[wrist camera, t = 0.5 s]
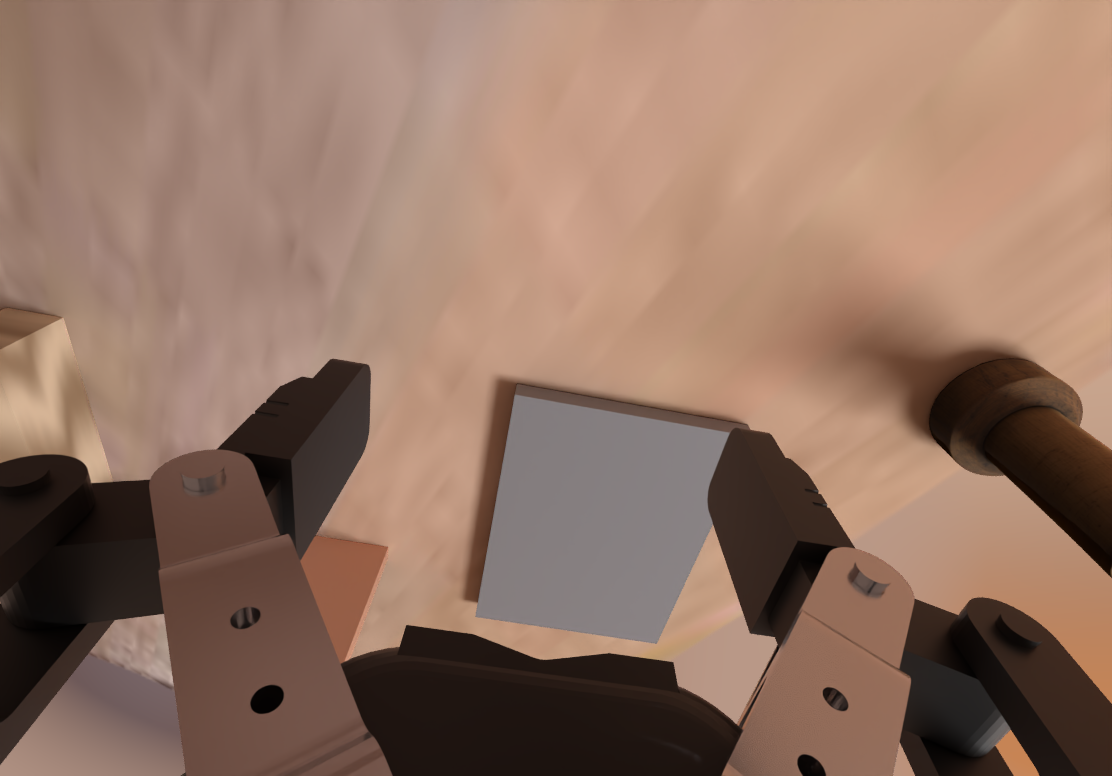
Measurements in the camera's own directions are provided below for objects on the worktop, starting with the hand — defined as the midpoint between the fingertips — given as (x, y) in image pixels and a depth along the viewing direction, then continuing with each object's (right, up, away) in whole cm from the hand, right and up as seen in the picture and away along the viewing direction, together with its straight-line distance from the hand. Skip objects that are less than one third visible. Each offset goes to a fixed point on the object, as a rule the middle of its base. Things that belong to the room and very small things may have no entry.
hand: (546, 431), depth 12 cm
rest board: (+3, -8, +25) cm, 27 cm away
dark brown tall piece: (+25, 0, +20) cm, 32 cm away
